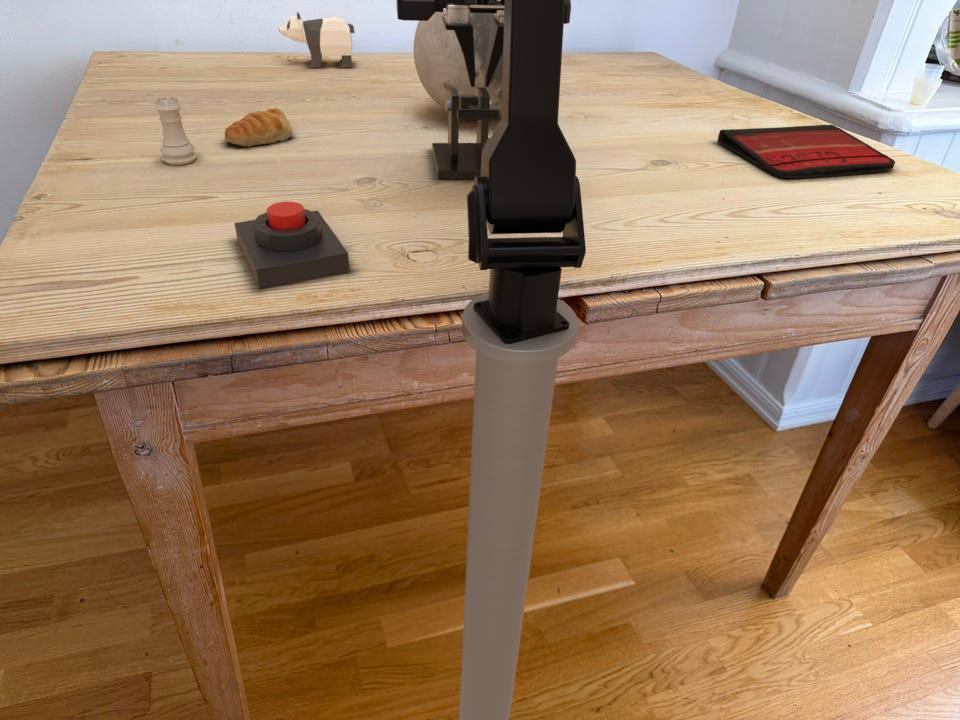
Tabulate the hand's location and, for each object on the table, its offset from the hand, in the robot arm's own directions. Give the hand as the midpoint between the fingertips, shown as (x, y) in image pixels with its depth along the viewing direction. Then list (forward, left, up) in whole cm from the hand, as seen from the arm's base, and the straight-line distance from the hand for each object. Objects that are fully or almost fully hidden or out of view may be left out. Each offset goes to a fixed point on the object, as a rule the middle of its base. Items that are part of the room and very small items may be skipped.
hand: (479, 86), depth 79 cm
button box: (-9, +26, -13) cm, 30 cm away
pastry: (+29, +21, -13) cm, 38 cm away
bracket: (+9, -3, -13) cm, 16 cm away
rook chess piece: (+24, +33, -13) cm, 43 cm away
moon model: (+29, -14, -13) cm, 35 cm away
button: (-9, +26, -9) cm, 29 cm away
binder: (-6, -53, -13) cm, 55 cm away
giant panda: (+70, 0, -13) cm, 72 cm away
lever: (+5, -2, -5) cm, 7 cm away
